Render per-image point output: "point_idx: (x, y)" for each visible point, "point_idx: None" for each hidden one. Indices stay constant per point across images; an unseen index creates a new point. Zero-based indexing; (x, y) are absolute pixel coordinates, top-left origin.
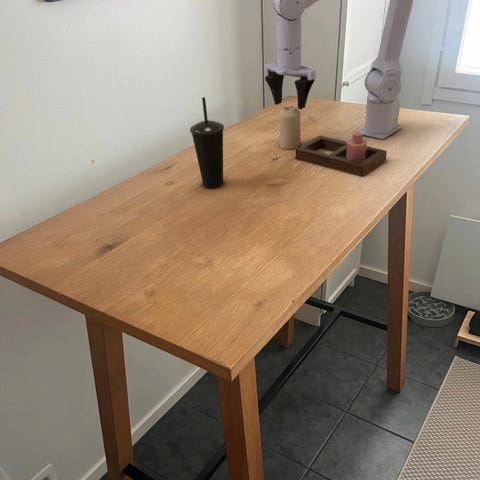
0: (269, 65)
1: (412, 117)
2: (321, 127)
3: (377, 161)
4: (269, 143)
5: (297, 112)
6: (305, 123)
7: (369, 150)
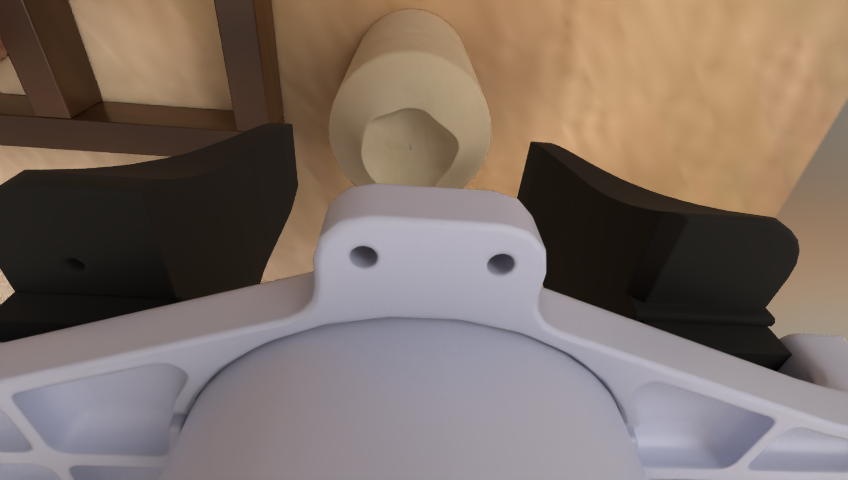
0: (834, 458)
1: None
2: None
3: None
4: (535, 43)
5: (341, 146)
6: None
7: None
